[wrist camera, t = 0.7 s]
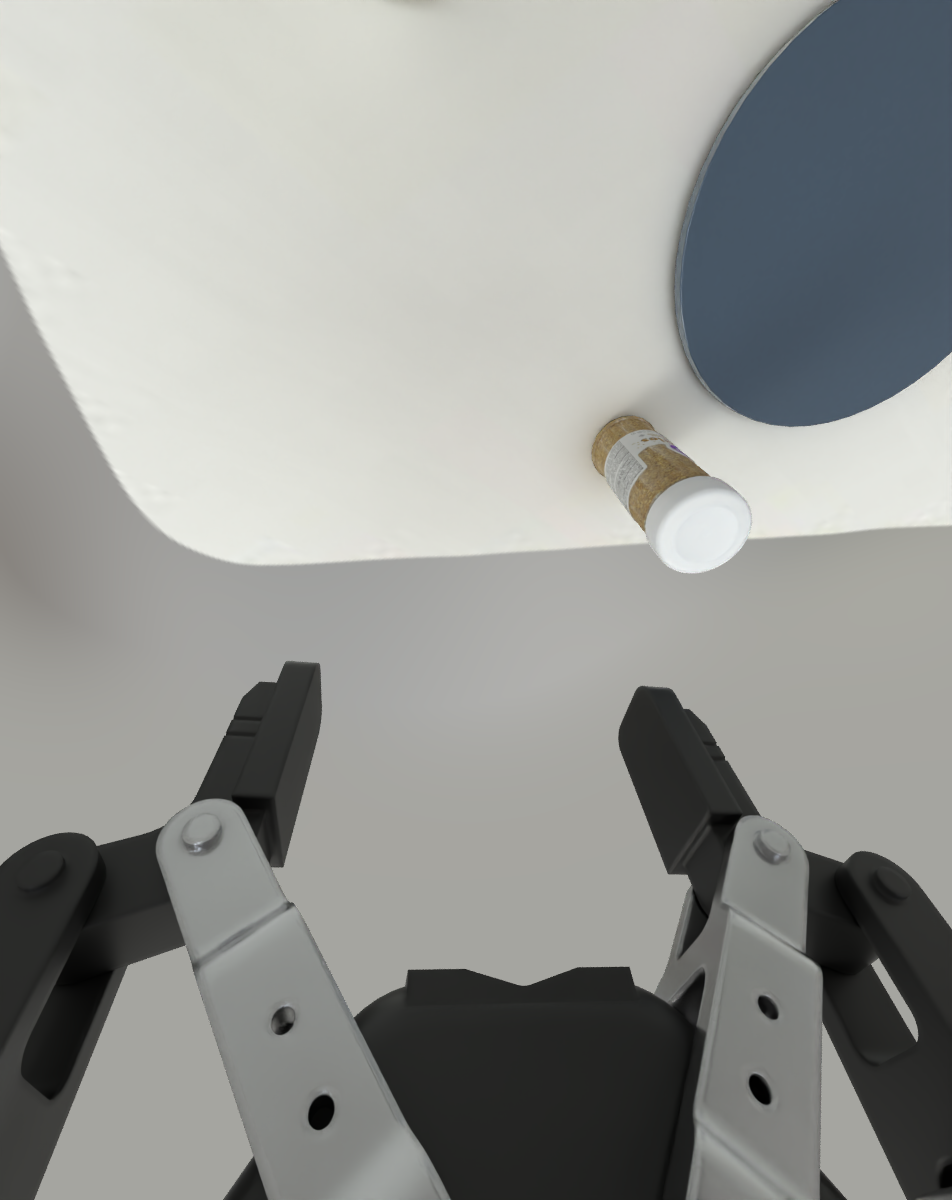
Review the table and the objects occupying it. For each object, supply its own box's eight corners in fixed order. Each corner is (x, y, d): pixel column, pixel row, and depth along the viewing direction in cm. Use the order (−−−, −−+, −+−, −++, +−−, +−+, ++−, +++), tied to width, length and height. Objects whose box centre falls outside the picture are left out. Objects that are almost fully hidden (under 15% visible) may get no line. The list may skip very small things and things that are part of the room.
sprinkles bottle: (666, 425, 33) (776, 505, 22) (635, 486, 36) (720, 586, 25) (606, 404, 32) (690, 478, 21) (578, 469, 35) (640, 564, 24)
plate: (966, -192, 20) (1001, -222, 18) (1094, 213, 28) (1124, 210, 26) (599, 268, 28) (606, 268, 27) (780, 477, 36) (791, 485, 35)
